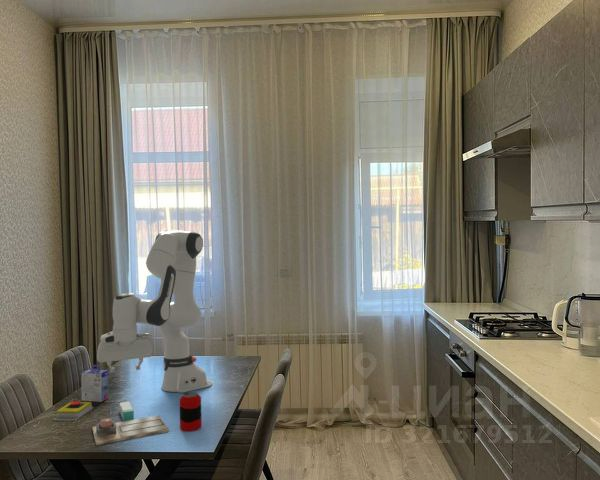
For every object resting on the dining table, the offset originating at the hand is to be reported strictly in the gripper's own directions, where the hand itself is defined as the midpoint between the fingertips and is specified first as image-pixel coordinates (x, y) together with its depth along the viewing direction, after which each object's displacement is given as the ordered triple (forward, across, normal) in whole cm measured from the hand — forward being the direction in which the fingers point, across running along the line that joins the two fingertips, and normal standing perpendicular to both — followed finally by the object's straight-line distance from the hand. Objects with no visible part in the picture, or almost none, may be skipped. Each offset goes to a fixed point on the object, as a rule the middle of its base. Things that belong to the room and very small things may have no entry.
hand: (125, 371), depth 197 cm
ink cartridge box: (+18, +9, -27) cm, 34 cm away
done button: (+16, +9, +16) cm, 24 cm away
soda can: (+18, -19, +24) cm, 35 cm away
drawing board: (+18, +1, +16) cm, 24 cm away
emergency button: (+18, +18, -13) cm, 29 cm away
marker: (+18, 0, 0) cm, 18 cm away
